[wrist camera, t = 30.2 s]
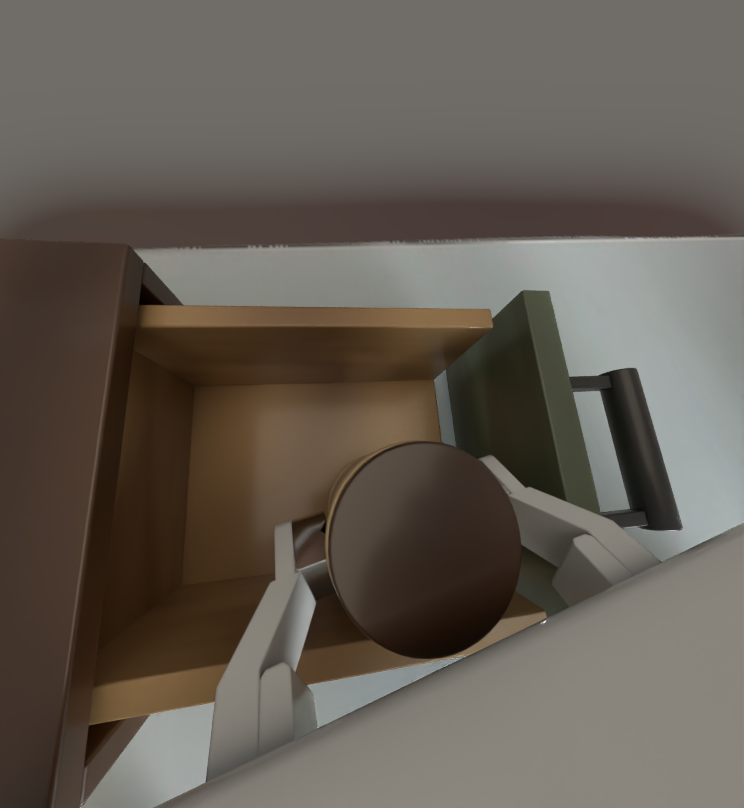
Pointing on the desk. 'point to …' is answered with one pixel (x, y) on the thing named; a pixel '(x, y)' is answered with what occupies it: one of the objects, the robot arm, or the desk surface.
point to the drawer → (324, 469)
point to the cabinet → (60, 503)
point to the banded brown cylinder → (422, 548)
